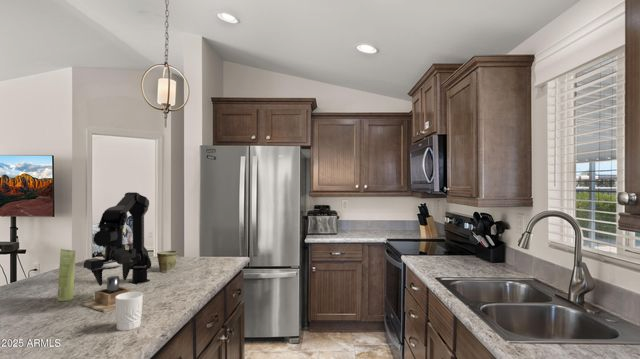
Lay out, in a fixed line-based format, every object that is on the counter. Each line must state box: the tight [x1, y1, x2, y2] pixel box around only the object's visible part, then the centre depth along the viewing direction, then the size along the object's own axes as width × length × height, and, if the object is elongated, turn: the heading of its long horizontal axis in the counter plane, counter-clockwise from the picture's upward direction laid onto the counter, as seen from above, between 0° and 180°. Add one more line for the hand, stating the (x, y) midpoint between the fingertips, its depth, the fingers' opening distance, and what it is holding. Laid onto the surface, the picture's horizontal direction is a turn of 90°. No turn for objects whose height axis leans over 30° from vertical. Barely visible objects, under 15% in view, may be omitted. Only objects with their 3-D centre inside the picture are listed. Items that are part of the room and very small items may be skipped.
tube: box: [57, 248, 76, 302], centre depth 134 cm, size 6×5×20 cm
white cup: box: [115, 291, 144, 332], centre depth 110 cm, size 8×8×10 cm
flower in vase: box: [101, 225, 127, 269], centre depth 187 cm, size 13×11×25 cm
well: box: [82, 285, 131, 313], centre depth 131 cm, size 14×14×5 cm
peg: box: [106, 275, 120, 294], centre depth 131 cm, size 4×4×9 cm
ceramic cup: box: [156, 249, 179, 274], centre depth 181 cm, size 13×10×10 cm
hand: (112, 282), depth 131 cm, fingers open, 9 cm apart
